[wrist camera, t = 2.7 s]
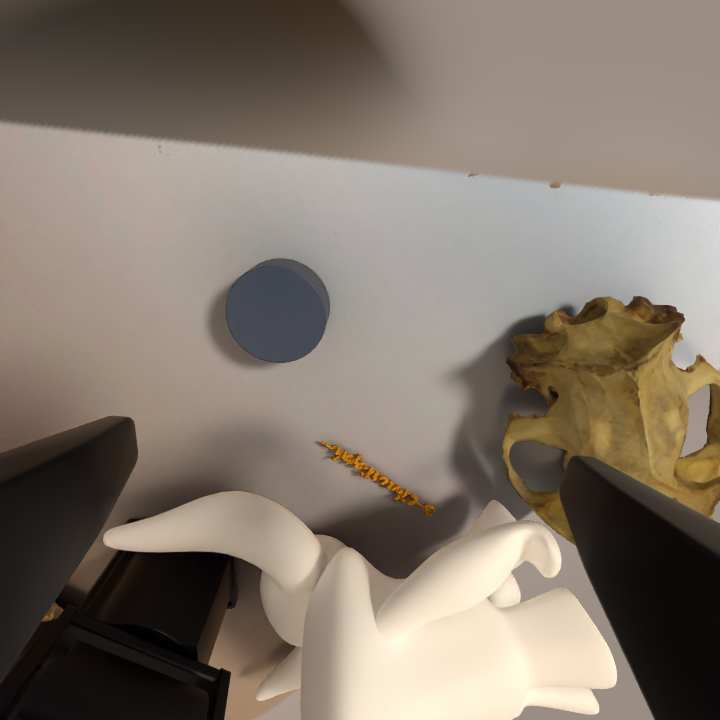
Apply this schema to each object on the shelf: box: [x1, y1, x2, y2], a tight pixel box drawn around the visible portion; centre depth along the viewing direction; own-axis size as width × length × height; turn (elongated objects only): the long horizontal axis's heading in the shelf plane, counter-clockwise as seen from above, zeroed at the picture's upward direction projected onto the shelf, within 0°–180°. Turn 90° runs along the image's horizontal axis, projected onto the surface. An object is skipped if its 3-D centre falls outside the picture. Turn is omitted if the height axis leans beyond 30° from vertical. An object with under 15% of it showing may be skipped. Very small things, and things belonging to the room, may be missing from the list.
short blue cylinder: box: [226, 259, 330, 363], centre depth 19 cm, size 4×4×2 cm
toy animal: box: [103, 491, 617, 720], centre depth 21 cm, size 20×12×17 cm
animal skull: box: [502, 296, 720, 545], centre depth 20 cm, size 10×16×7 cm
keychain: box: [321, 441, 435, 517], centre depth 24 cm, size 8×1×1 cm, turn 53°
